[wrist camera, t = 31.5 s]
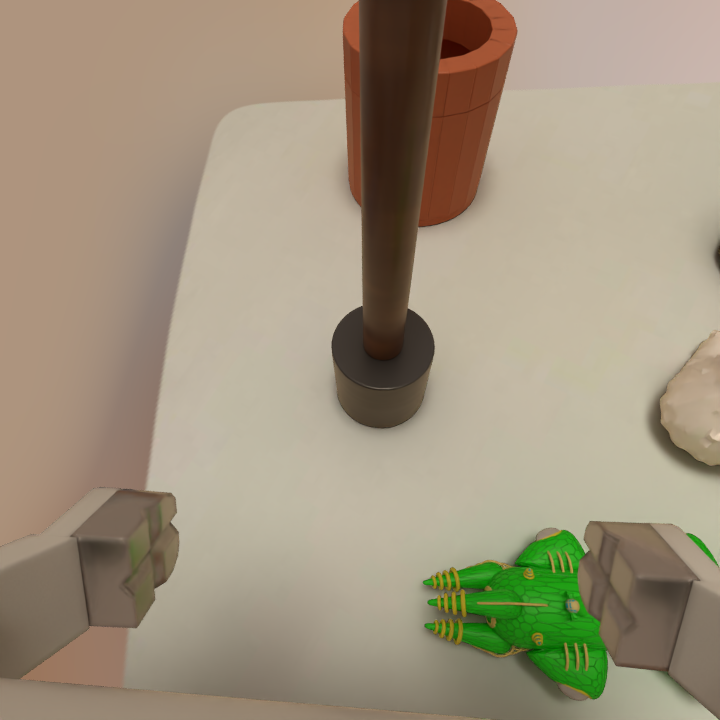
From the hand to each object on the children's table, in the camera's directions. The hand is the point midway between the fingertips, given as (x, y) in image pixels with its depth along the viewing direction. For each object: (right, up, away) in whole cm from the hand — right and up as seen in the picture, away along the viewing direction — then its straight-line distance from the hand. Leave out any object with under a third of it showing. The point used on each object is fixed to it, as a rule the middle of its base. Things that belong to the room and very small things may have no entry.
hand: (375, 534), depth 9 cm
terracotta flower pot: (+4, +18, +28) cm, 33 cm away
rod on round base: (+1, +2, +19) cm, 19 cm away
